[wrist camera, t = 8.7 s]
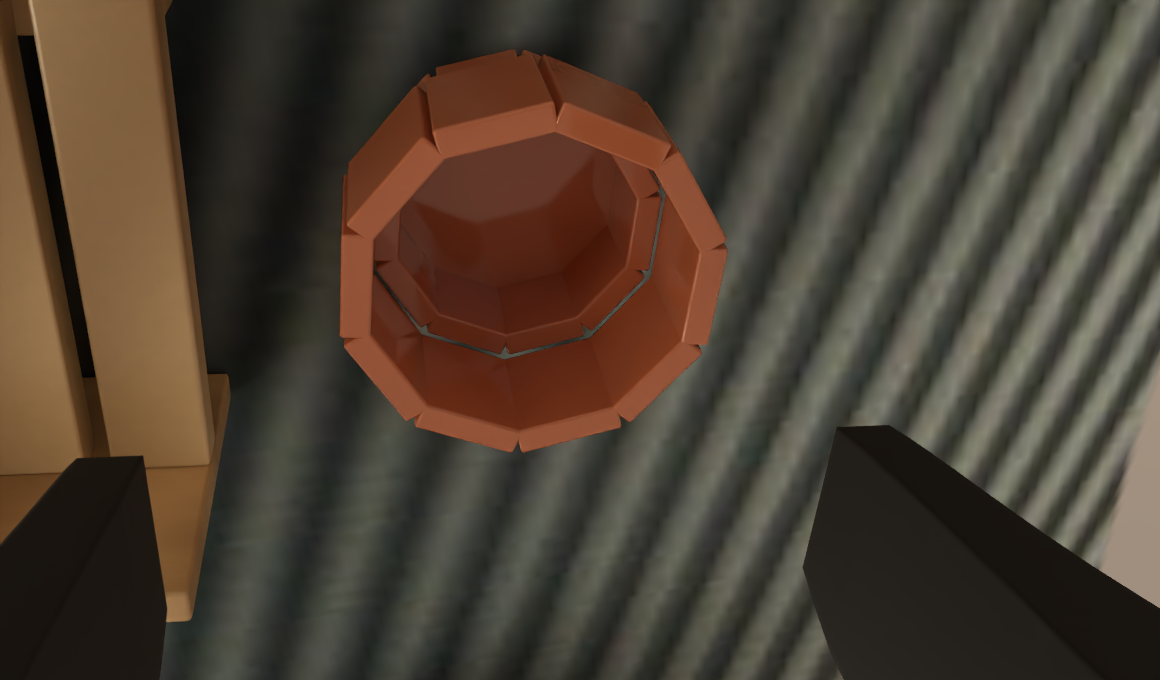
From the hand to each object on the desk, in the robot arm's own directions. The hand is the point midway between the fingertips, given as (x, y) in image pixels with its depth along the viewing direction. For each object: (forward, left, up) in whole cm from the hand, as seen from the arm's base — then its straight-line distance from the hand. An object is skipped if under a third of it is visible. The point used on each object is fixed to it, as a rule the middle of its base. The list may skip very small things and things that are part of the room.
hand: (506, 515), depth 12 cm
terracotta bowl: (0, -1, -10) cm, 10 cm away
